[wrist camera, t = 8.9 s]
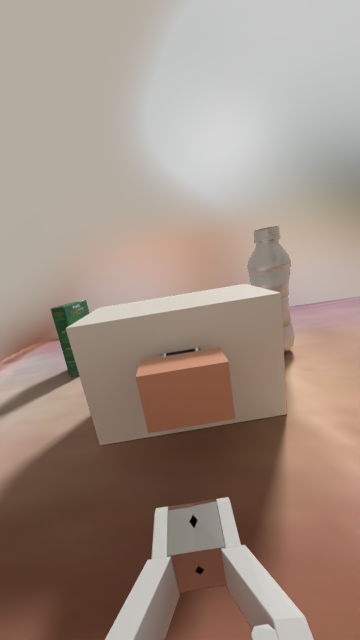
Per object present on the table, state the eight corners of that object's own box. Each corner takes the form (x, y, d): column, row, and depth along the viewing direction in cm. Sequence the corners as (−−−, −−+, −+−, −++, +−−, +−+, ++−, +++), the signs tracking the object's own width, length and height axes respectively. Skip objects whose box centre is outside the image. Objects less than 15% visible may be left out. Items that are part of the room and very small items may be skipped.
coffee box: (90, 358, 50) (74, 300, 47) (102, 357, 50) (86, 298, 47) (68, 376, 42) (47, 308, 39) (82, 375, 42) (62, 306, 39)
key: (235, 419, 18) (228, 361, 17) (148, 433, 18) (135, 376, 17) (212, 364, 28) (207, 326, 27) (156, 374, 28) (148, 335, 27)
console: (287, 414, 24) (280, 292, 21) (99, 445, 24) (65, 328, 21) (253, 371, 34) (245, 283, 31) (120, 393, 34) (98, 307, 30)
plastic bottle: (264, 361, 36) (254, 228, 31) (248, 346, 43) (238, 235, 38) (303, 354, 36) (300, 221, 31) (281, 340, 43) (275, 228, 38)
